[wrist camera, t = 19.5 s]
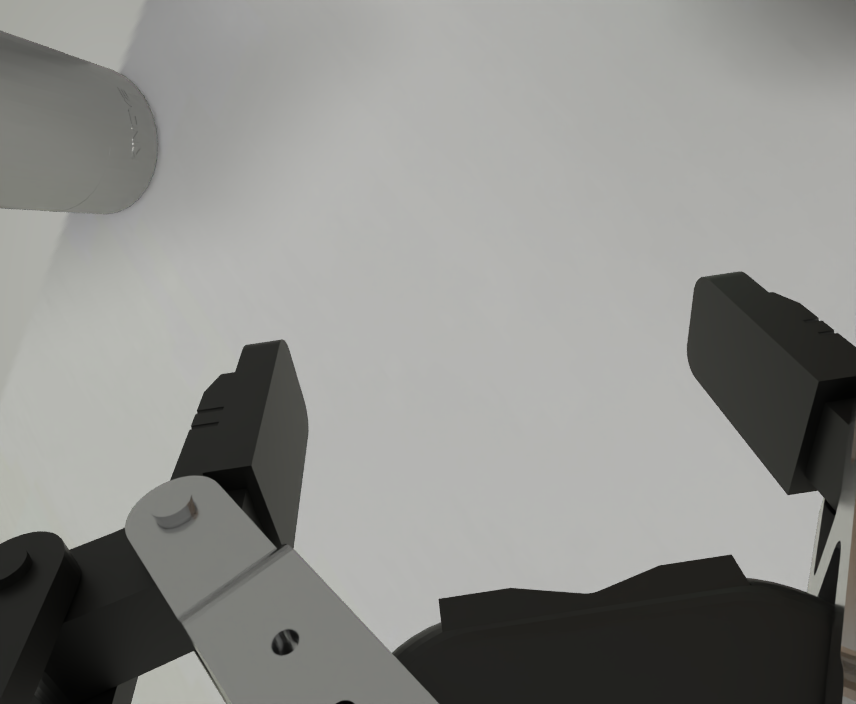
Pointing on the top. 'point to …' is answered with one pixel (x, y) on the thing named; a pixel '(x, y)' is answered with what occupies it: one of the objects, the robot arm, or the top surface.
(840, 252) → the top surface
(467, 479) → the top surface
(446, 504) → the top surface
